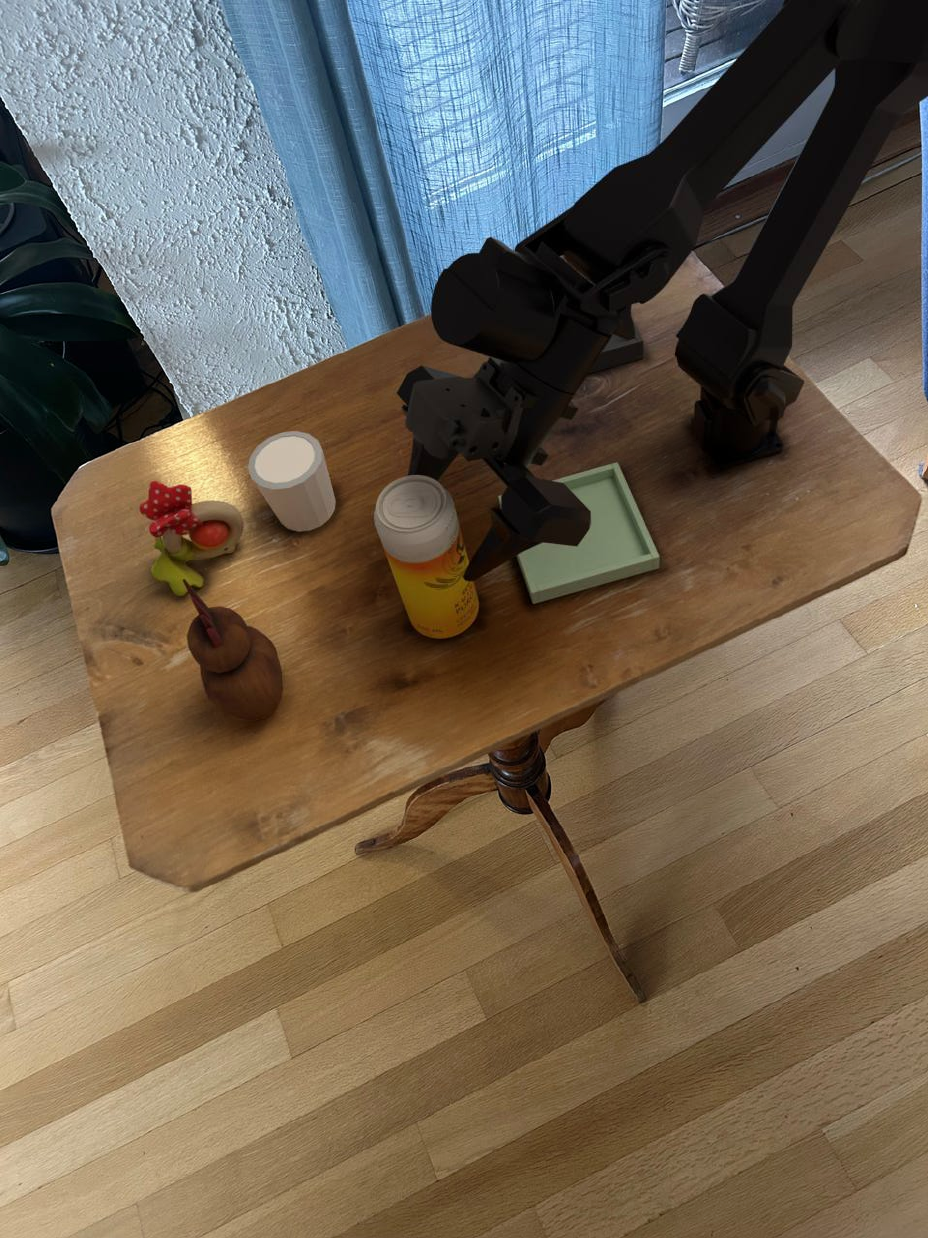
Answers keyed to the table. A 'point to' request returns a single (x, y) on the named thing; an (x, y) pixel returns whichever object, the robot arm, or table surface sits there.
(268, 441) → the white cup
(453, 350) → the table surface
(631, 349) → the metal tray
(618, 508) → the sage tray
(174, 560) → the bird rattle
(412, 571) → the beer can
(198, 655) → the wooden figurine
